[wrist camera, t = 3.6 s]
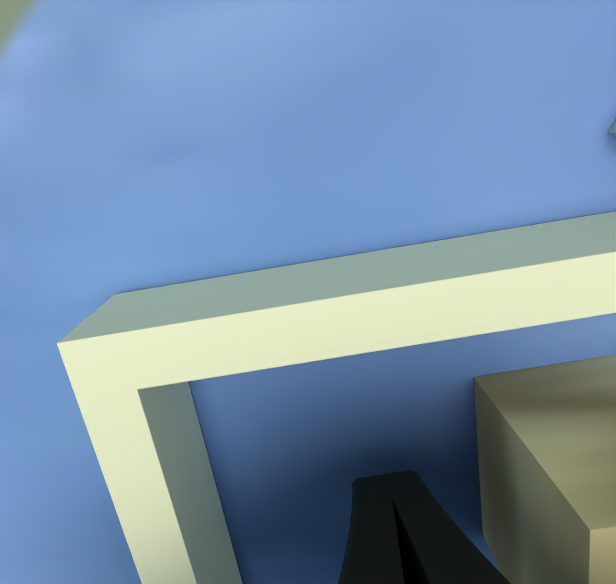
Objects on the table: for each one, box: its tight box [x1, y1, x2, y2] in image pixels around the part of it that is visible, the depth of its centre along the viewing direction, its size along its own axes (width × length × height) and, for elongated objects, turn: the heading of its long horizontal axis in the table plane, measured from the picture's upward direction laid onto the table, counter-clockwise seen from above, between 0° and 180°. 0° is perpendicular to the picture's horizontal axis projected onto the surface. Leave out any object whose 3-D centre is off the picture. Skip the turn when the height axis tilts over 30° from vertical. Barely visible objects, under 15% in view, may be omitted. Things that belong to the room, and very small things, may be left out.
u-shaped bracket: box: [57, 211, 616, 584], centre depth 10 cm, size 13×11×2 cm
